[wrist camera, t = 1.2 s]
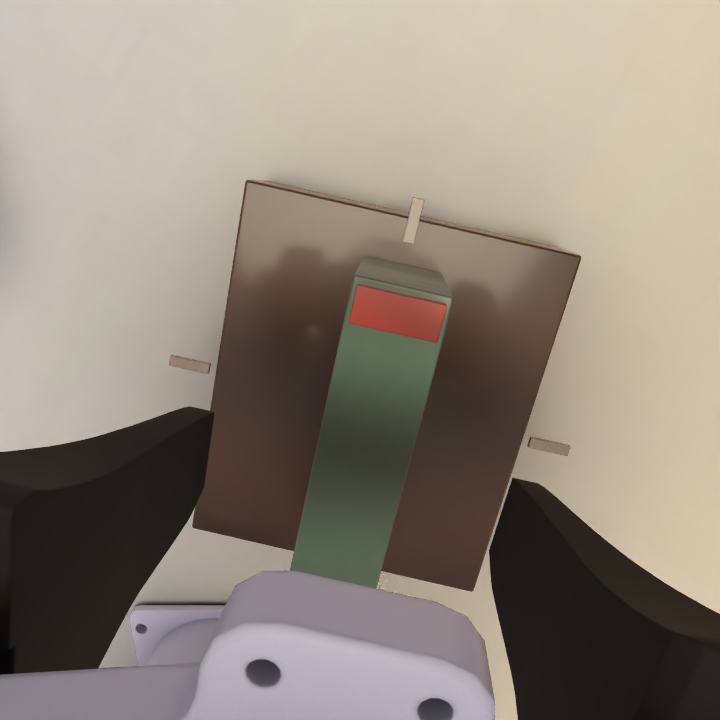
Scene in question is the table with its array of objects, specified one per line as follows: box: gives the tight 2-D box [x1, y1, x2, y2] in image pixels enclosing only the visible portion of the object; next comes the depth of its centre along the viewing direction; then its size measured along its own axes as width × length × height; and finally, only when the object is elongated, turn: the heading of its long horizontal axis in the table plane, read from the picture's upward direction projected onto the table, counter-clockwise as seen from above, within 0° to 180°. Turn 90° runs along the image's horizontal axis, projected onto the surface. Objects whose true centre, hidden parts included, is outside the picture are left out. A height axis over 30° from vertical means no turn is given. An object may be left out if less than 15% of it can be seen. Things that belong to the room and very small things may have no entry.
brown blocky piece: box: [169, 180, 581, 591], centre depth 22 cm, size 14×14×3 cm
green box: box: [290, 256, 454, 589], centre depth 18 cm, size 10×3×5 cm, turn 168°
